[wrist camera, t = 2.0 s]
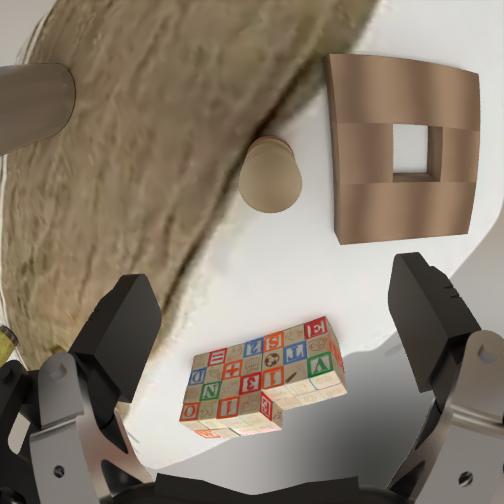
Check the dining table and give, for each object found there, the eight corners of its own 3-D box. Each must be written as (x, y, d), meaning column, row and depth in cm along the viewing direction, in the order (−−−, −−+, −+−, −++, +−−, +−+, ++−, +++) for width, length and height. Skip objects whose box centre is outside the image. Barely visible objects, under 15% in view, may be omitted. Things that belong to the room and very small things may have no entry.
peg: (251, 175, 28) (242, 216, 19) (245, 134, 26) (233, 156, 17) (293, 171, 27) (304, 210, 19) (289, 130, 25) (300, 149, 17)
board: (334, 231, 30) (340, 244, 28) (323, 58, 21) (329, 53, 19) (455, 222, 28) (467, 233, 26) (462, 73, 19) (478, 73, 17)
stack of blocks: (325, 313, 37) (339, 393, 26) (338, 341, 39) (352, 414, 29) (193, 355, 43) (177, 423, 32) (215, 376, 45) (204, 440, 35)
